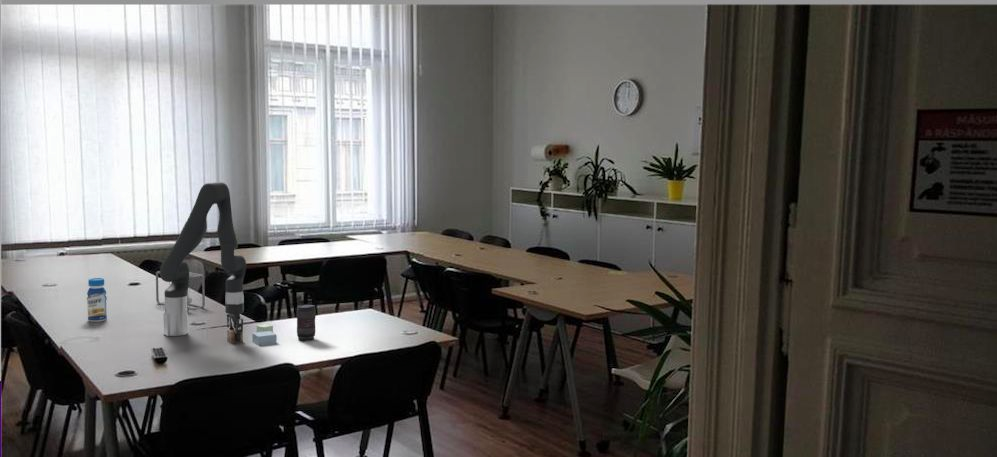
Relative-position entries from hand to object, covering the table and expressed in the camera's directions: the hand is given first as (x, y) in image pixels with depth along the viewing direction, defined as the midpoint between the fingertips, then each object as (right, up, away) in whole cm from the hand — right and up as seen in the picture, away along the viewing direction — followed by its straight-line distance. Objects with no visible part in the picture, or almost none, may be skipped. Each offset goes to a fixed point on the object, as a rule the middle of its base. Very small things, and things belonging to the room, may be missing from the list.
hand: (235, 339), depth 343 cm
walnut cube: (0, -1, 0) cm, 1 cm away
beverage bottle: (-78, +4, +36) cm, 86 cm away
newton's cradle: (-54, +7, +74) cm, 92 cm away
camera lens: (+29, -1, +6) cm, 30 cm away
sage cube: (+10, 0, +10) cm, 14 cm away
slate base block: (+13, -1, 0) cm, 13 cm away
